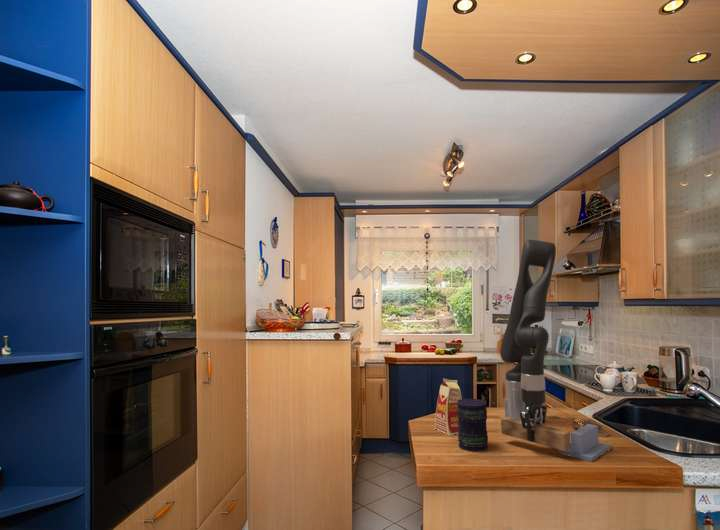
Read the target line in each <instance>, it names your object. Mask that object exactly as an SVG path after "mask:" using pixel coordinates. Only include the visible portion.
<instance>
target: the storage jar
mask: <svg viewBox="0 0 720 530" xmlns="http://www.w3.org/2000/svg"><path fill="white" fill-rule="evenodd" d="M457 404H458V406H457V408H458V409H457V413H458V415H457V416H458V419H459V429H458V434H457V440H458V447H459V449H460V448H461V449H460V450H463V451H466V452H473V453H479V452H480V453H481V452H485V451H487V450H488V448H489V446H488V441H489V436H488V430H487V420H488V416H487V415H488V410H487V401H485V400H482V399H477V398H462V399H461V400H458V401H457Z"/></svg>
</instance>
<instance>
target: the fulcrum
mask: <svg viewBox="0 0 720 530" xmlns="http://www.w3.org/2000/svg"><path fill="white" fill-rule="evenodd" d="M570 443H571V448H570V449H568V450H566V451H562V450H559V449H558V452H559V453H562V454H561V455H563V454H566V455H565V456H567V455H570V456H569V457H571V456H573V457H572V458H575V457H577V458H576V459H579V458H580V460H583V459H584V461H587V462H591V463H593V462H594V461H596V460H597V459H598V458H597V457H599V456H600V455H601V454H603V453H605V452H606V451H608V450H609V451H611V450H612V445H611V444H607V443H603V442H599V438H598V426H597V425H591V424H587V425H585V426H583V427H581V428H579V429H576V430H573V431H572V432H570ZM610 449H611V450H610ZM609 451H608V452H609ZM606 453H607V452H606ZM606 453H605V454H606ZM603 455H604V454H603ZM600 457H601V456H600ZM600 457H599V458H600ZM596 458H597V459H596ZM595 459H596V460H595ZM592 461H593V462H592Z"/></svg>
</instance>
